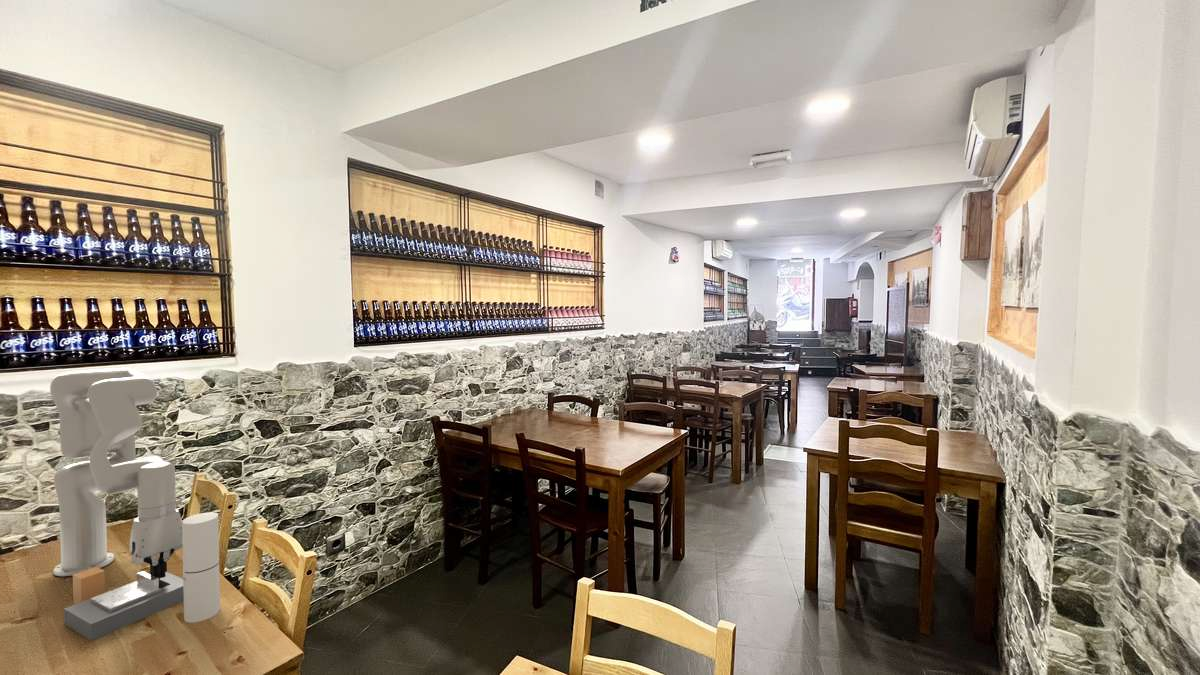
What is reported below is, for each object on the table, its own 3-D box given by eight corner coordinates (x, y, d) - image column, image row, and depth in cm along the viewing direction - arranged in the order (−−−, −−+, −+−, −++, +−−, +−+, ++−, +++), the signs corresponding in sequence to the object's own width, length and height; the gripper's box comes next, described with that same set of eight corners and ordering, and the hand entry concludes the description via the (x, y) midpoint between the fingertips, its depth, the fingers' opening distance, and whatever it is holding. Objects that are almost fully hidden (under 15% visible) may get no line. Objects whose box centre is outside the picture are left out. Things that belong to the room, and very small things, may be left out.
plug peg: (73, 604, 128) (72, 574, 128) (97, 595, 132) (96, 566, 132) (81, 609, 126) (80, 578, 126) (105, 600, 130) (104, 570, 130)
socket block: (64, 624, 120) (63, 608, 120) (164, 584, 138) (163, 570, 138) (91, 640, 114) (91, 624, 114) (191, 596, 132) (191, 582, 132)
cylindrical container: (199, 624, 121) (197, 525, 120) (176, 620, 122) (174, 522, 121) (227, 607, 128) (225, 513, 127) (204, 604, 129) (203, 511, 128)
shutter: (90, 601, 123) (90, 588, 123) (141, 582, 132) (140, 570, 132) (110, 612, 119) (109, 598, 118) (160, 591, 128) (160, 578, 128)
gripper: (182, 498, 139) (183, 561, 140) (113, 517, 125) (115, 587, 126) (197, 502, 136) (198, 567, 137) (128, 523, 122) (130, 594, 123)
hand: (158, 576), depth 131 cm, fingers closed
